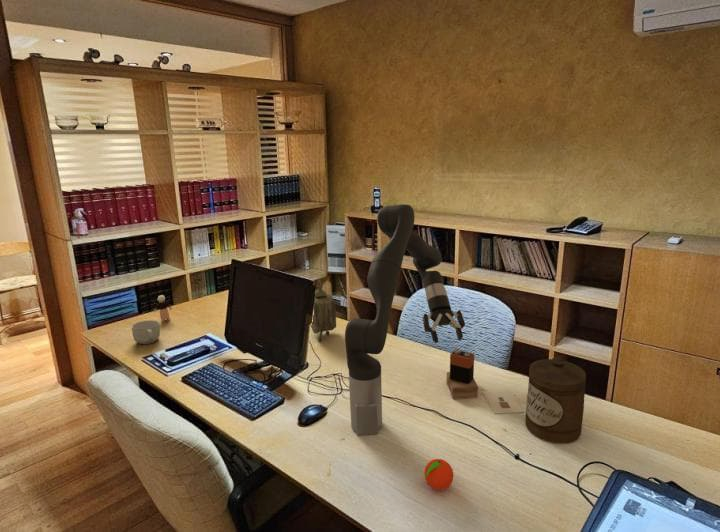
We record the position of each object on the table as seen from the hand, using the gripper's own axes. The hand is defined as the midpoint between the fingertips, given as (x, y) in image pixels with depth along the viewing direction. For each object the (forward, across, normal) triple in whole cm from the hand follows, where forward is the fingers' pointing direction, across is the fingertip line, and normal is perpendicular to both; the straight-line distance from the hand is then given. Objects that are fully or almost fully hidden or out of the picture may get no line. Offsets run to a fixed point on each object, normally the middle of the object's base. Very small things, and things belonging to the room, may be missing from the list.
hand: (448, 340), depth 163 cm
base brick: (+17, 0, +2) cm, 17 cm away
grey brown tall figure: (-22, -39, +41) cm, 60 cm away
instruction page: (+24, +10, -5) cm, 26 cm away
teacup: (-31, -112, +50) cm, 126 cm away
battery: (+14, 0, -1) cm, 14 cm away
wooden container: (+35, +17, -16) cm, 42 cm away
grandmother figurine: (-48, -109, +67) cm, 137 cm away
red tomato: (+45, -23, -26) cm, 57 cm away
